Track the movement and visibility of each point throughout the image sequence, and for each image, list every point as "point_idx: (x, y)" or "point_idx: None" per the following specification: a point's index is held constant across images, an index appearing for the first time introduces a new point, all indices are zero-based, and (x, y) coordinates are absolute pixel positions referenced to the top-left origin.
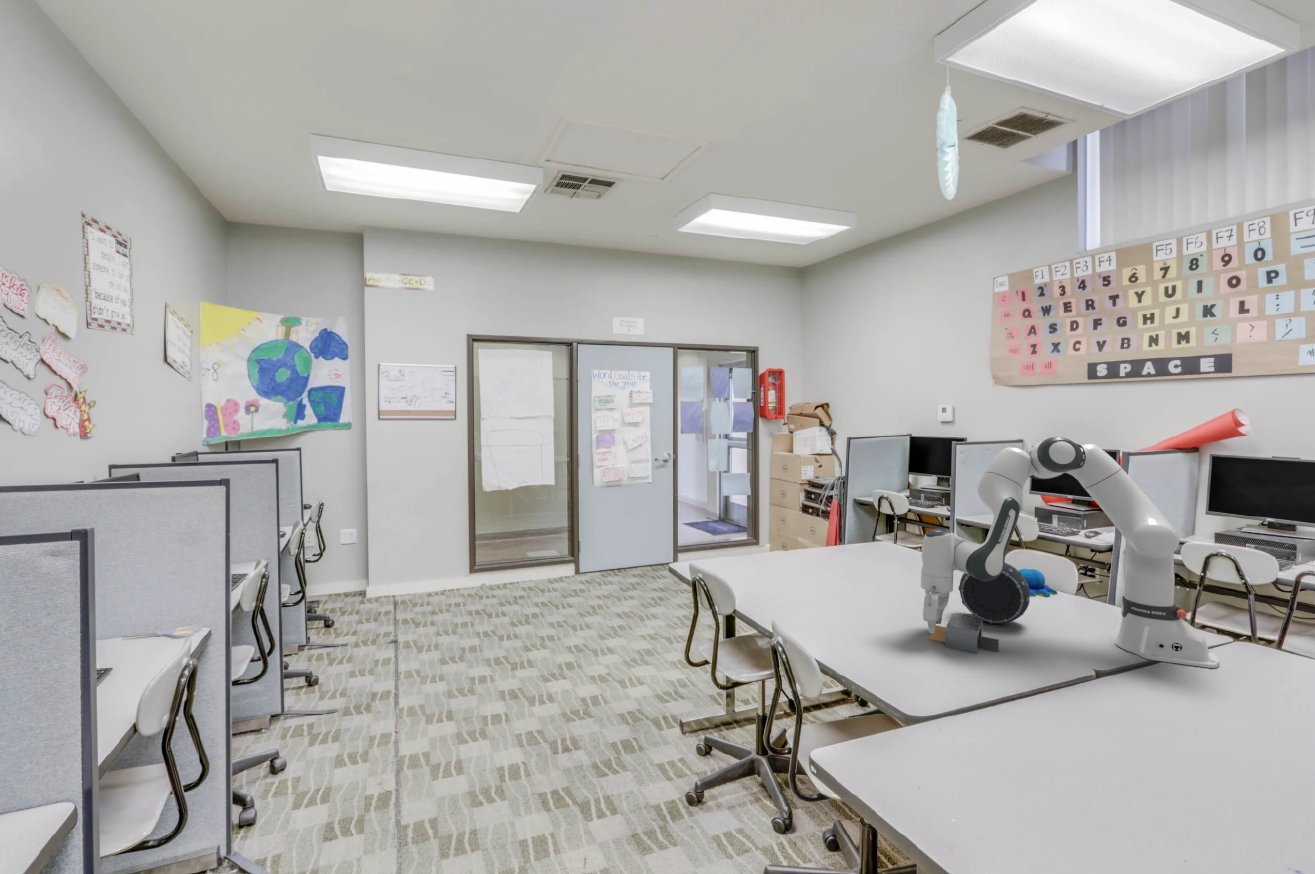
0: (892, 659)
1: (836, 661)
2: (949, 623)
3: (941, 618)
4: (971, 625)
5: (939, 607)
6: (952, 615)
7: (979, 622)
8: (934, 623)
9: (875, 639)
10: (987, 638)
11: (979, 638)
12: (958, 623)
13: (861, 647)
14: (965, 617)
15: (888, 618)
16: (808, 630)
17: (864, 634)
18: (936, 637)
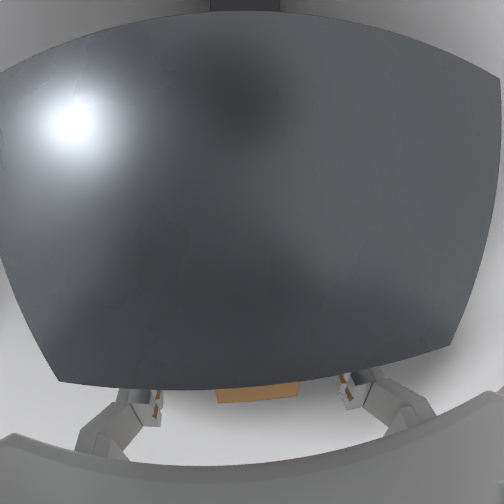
0: (493, 343)
1: (494, 390)
2: (399, 350)
3: (130, 401)
4: (371, 127)
5: (448, 499)
6: (108, 385)
7: (126, 45)
8: (424, 401)
9: (375, 429)
10: (242, 1)
11: None
12: (370, 291)
13: (435, 413)
14: (50, 272)
15: (152, 459)
16: None
17: None
18: None
